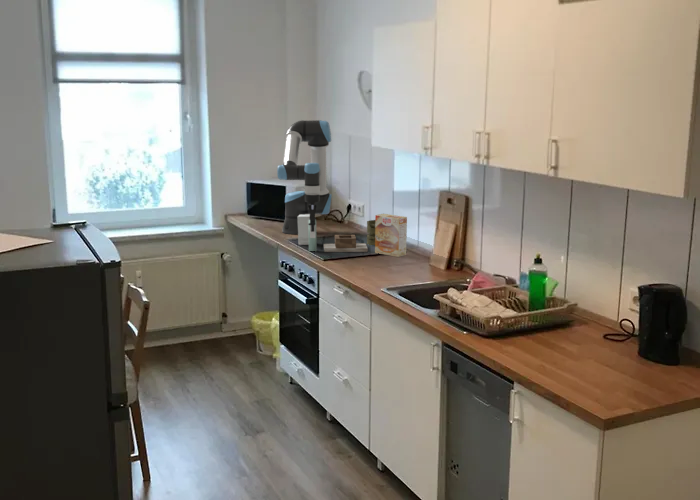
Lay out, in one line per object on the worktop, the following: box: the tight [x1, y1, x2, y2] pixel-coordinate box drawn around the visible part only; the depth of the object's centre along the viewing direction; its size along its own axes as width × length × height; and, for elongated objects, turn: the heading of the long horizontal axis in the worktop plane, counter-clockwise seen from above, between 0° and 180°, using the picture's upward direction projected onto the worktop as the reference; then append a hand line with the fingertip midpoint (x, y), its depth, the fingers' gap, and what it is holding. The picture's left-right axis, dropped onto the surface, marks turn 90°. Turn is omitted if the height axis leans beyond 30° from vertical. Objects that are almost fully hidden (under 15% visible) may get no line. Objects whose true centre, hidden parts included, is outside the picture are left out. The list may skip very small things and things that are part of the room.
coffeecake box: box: [374, 213, 408, 258], centre depth 380 cm, size 15×7×20 cm, turn 50°
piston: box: [366, 219, 375, 246], centre depth 405 cm, size 11×12×11 cm
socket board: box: [323, 234, 369, 253], centre depth 392 cm, size 14×22×6 cm, turn 94°
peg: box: [308, 219, 317, 252], centre depth 386 cm, size 4×4×16 cm
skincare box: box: [297, 214, 310, 246], centre depth 404 cm, size 8×7×16 cm
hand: (312, 235), depth 386 cm, fingers open, 13 cm apart
